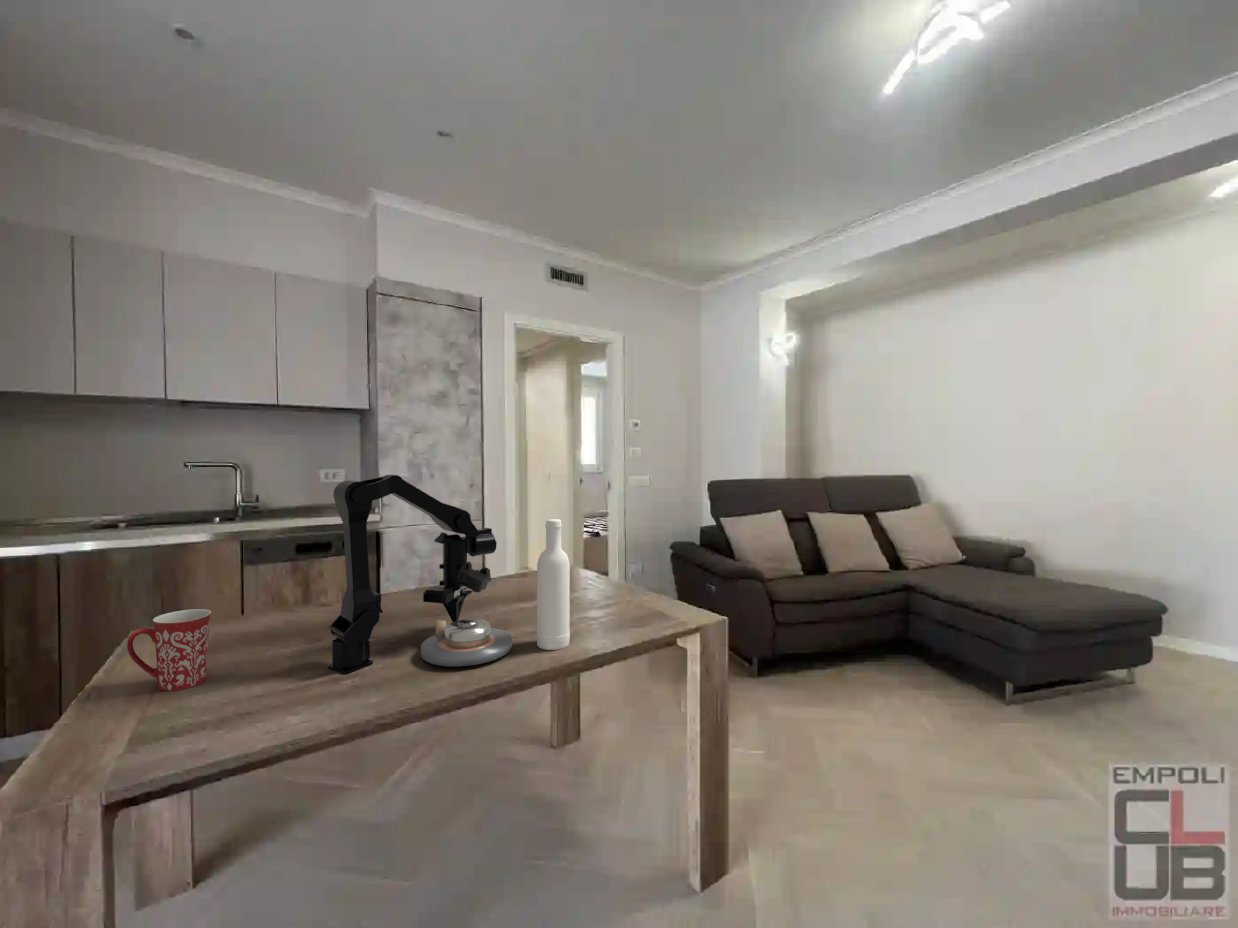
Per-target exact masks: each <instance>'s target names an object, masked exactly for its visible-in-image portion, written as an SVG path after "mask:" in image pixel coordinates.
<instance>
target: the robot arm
mask: <svg viewBox="0 0 1238 928" xmlns="http://www.w3.org/2000/svg"><path fill="white" fill-rule="evenodd" d="M332 495H333V499H334V503H335V507H336V510H337V514H338V516H339V517H340V520H341V521H342V526H343V527H342V528H343V543H344V558H345V561H344V562H345V563H344V564H345V574H346V575H345V576H346V590H345V592H344V595H343V597H342V601H341V607H340V614H339V615H338V616H337V617H336V618H335V620H333V622H332V623H331V624H330V625H329V627H328V628H329V631H330V633H331V635H332V636H334V637H335V638H334V639H333V640H331V641H332V643H331V644H332V647H331V649H332V650H331V651H332V653H331V654H332V656H331V657H332V660H331V661H332V663H330V664H328V665H327V668H328V669H330V670H333V671H336V672H339V673H342V674H346V675H347V674H349V673H352V672H354V671H357V670H359V669H362V668H366V667H367V666H370V665H373V664H374V660H372V659H371V658H370V657H371V640H370V639H371V635H372V633H373V630H374V627H375V626H376V625H377V624H378V623H379V621H380V618H381V617H380V616H381V614H383V613H384V612H383V609H382V607H381V606H382V605H381V604H382V594H381V593H378V592H376V591H375V590H372V588H371V579H370V578H371V576H370V559H369V544H368V543H369V541H368V527H367V524H368V520H369V517H370V514H371V511H372V507H373V501H376V500H379V499H383V498H384V497H387V496H390V495H392V496H393V497H396V498H397V499H399V500H402V501H403V502H404V503H406V504H409V505H410V506H412V507H413V508H415V509H417V510H419V511H421V512H423V513H425V514H426V515H427V516H428V517H430V518H431V520H432V521H433V522H434V523H435V524H436V525H437V526H438V527H440V528H441V529H442V530H443V531H447V532H451V533H453V534H447V533H446V532H440V534H439V535H438V536H437V537H436V538H434V541H433V542H435V543H437V544H442V563H440V564H439V565H438V566H439V570H442V580H441V579H440V581H439V586H436V585H434V586H432V587H430V588H427V589H426V590H424V592H422V602H423V603H432V604H442V605H443V607H444V608H445V610H446V612H447V614H448V616H449V618H450V619H451V623H452V622H455V621H459V620H460V617H461V612H462V610H463V606H464V603H465V600H466V599H467V597H469V595H471V594H472V593H473V592H474V593H481V591H483V590H486V589H487V586H488V583H489V582H491V581H492V578H491V569H490V568H488V567H482V568H481V569H480V570H479V569H473V568H472V563H471V561H468V555H469V556H470V557H477V556H484V555H491V554H494V553H495V552H496V550H497V544H498V543H497V541H496V537H495V535H494V533H493V530H492V528H490V527H484V528H479V529H477V527H476V525H475V524H474V523H473V522H472V520H471V519H472V517H471V514H470V512H469V511H467V510H465V509H462V508H459V507H457V506H454V505H450V504H447V503H444V502H442V501H440V500H438V499H437V498H435V497H433V496H431V495H430V494H429V493H426V492H425V491H423V490H422V489H420V488H418V487H417V486H414V485H413V484H411V483H410V482H408V481H406V480H404V478H402V477H401V476H400V475H398V474H385V475H382V476H380V477H375V478H370V479H363V480H359V481H357V480H347V479H346V480H342V481H341V482H339V483H338V484H337V485H336V487H334V489H333V494H332ZM454 533H455V534H454ZM461 535H464V536H461Z"/></svg>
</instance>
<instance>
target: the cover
mask: <svg viewBox="0 0 1238 928" xmlns="http://www.w3.org/2000/svg"><path fill="white" fill-rule="evenodd" d="M490 628H491V623H490V622H489V621H488V620H485V619H481V618H480V619H479V618H477V619H476V618H464V619H458V621H455V622H452V621H451V622H450V623H448V624H447V626H446V627H445V645H446V646H447V647H449V648H453V649H472V648H477V647H480V646H483V645H485V644H487V643H488V642H489V641H490Z"/></svg>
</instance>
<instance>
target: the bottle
mask: <svg viewBox="0 0 1238 928" xmlns="http://www.w3.org/2000/svg"><path fill="white" fill-rule="evenodd" d="M562 526H563V525H562V520H561V519H559V518H548V519H546V520H545V549H544V550H542V552H541V553H540V554H539V556H538V559H537V564H536V571H537V572H536V577H537V578H536V626H537V627H536V645H537V647H538V648H539V649H541V650H544V651H545V650H546V651H556V650H557V651H558V650H562V649H565V648H567V647H568V646H570V639H571V638H570V637H571V629H570V607H571V606H570V605H571V604H570V603H571V602H570V601H571V600H570V599H571V598H570V597H571V596H570V589H571V588H570V583H571V582H570V578H571V577H570V576H571V575H570V571H571V570H570V568H571V566H570V560H569V556H568V554H567V553H566V552H565V551H564V550H563V549H562Z"/></svg>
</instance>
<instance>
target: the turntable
mask: <svg viewBox="0 0 1238 928" xmlns="http://www.w3.org/2000/svg"><path fill="white" fill-rule="evenodd" d="M447 622H448V621H447V619H446V618H439V619H436V620H435V634H433V635H432V636H430V637H428V638H426V639H425V640H424V641H423V642H422V643H421V644H420V656H421V659H423V660H424V661H425V662H426V663H429V664H432V665H435V666H436V665H437V666H442V667H468V666H475V665H481V664H482V665H483V664H485V663H490V662H492V661H495V660H497V659H500V658H503V656H505V655H506V654H508V653H509V652H510V651H511V649H512V645H513V641H512V639H513V638H512V635H511V634H510V633H509V632H507V631H505V630H502V629H499V628H494V627H490V641H489V642H488V643H487V644H485V645H483V646H480V647H477V648H472V649H453V648H449V647H447V646H446V645H445V627H446V626H447V625H448V624H447Z"/></svg>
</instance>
